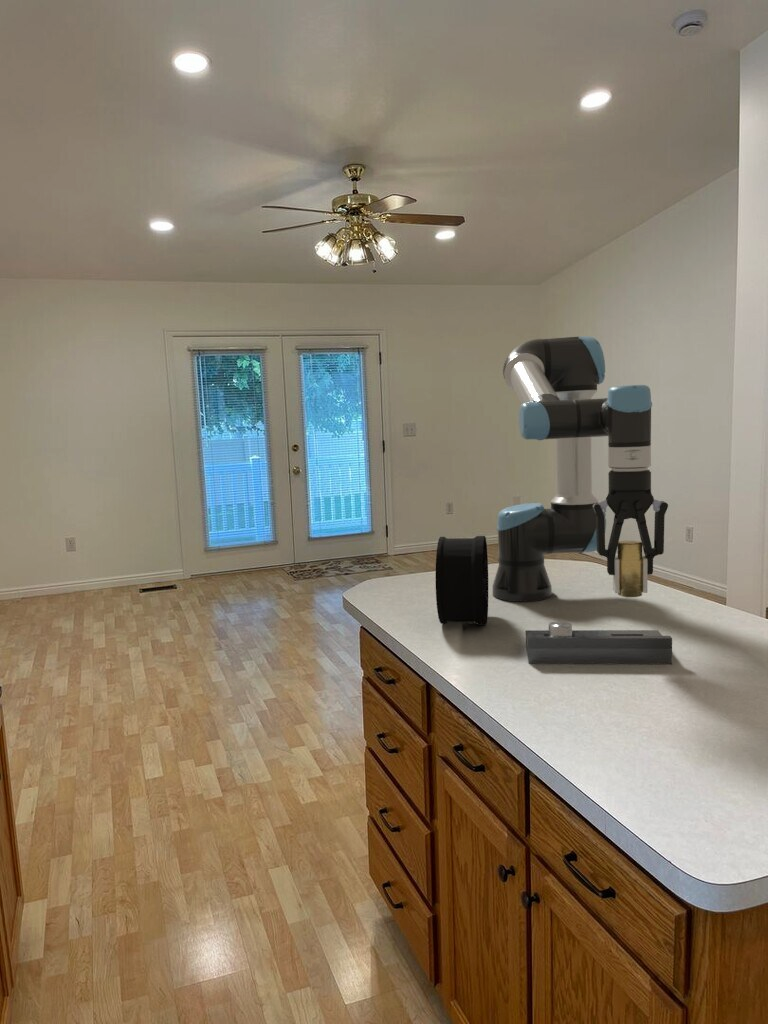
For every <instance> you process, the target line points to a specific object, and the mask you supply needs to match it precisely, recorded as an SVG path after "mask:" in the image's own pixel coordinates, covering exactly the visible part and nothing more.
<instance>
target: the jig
mask: <svg viewBox="0 0 768 1024" xmlns="http://www.w3.org/2000/svg"><path fill="white" fill-rule="evenodd" d="M524 634H525V649H526V655H527V662H528V664H529V665H530V664H533V665H534V664H535V665H537V664H539V665H540V664H541V665H543V664H546V665H547V664H548V665H550V664H552V665H559V664H561V665H568V664H569V665H673V637H672V636H671V635H662V633H661V632H660V630H658V629H657V630H656V629H653V630H652V629H644V630H643V629H642V630H640V629H639V630H638V629H629V630H628V629H625V630H624V629H622V630H621V629H620V630H619V629H615V630H614V629H613V630H611V629H610V630H609V629H607V630H605V629H604V630H603V629H601V630H597V629H596V630H595V629H594V630H593V629H590V630H589V629H587V630H583V629H581V630H580V629H579V630H577V629H576V630H575V629H574V630H573V629H572V636H549V629H547V630H545V629H544V630H541V629H540V630H536V629H534V630H533V629H532V630H530V629H529V630H525V631H524Z"/></svg>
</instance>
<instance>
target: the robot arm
mask: <svg viewBox="0 0 768 1024" xmlns="http://www.w3.org/2000/svg"><path fill="white" fill-rule="evenodd" d="M603 351H604V350H603V348H602V345H601V343H600V342H599V341H598V339H597V338H595V337H592V336H579V335H578V336H569V337H553V338H536V339H535V338H534V339H531V340H527V341H525V342H523V343H521V344H519V345H518V346H516V347H515V348H514V349H513V350H511V351H510V353H509V354H508V356H507V357H505V360H504V363H503V367H502V368H503V369H502V375H503V379H504V380H505V383H506V385H507V387H509V389H510V390H512V391H514V393H515V394H516V397H517V398H518V401H519V403H520V404H521V405H520V407H519V412H518V420H519V421H518V426H519V433H520V435H521V438H523V439H524V440H537V441H543V440H555V444H556V446H555V448H556V450H555V451H556V457H555V459H556V462H555V463H556V494H555V496H554V497H553V498H552V499H551V501H550V508H545V507H544V504H542V503H539V502H533V503H530V502H529V503H520V504H517V505H516V504H515V505H512V506H507V507H505V508H503V509H502V510H500V511H499V513H498V514H497V526H496V530H497V538H498V539H497V543H498V545H497V549H498V550H497V552H498V553H497V554H498V566H497V570H496V573H495V576H494V579H493V584H492V596H493V597H495V598H497V599H500V600H502V601H503V600H504V601H508V602H509V601H510V602H536V601H542V600H545V599H548V598H550V597H551V596H552V594H553V593H552V588H553V587H552V584H551V581H550V578H549V575H548V571H547V569H546V566H545V555H549V554H551V555H552V554H553V555H554V554H556V555H557V554H576V553H578V554H583V553H590V552H592V553H593V552H597V554H598V555H599V556H601V557H605V558H606V571H607V574H608V576H612V590H613V592H614V593H615V594H618V593H619V559H618V556H616V554H617V552H618V542H620V538H621V533H622V530H623V525H624V523H625V520H628V519H634V520H635V522H636V525H637V529H638V532H639V537H640V542H642V551H643V553H644V555H642V594H648V575H653V572H654V558H655V557H656V556H658V555H659V556H660V555H663V554H664V551H665V550H664V549H665V547H664V546H665V515H666V513H667V510H668V509H669V504H668V503H667V502H666V501H664V500H658V499H655V498H654V495H653V494H652V471H650V469H648V468H650V467H651V466H652V451H651V450H652V449H651V447H652V446H651V445H652V440H651V439H652V407H653V403H652V394H651V388H650V387H649V386H648V385H645V384H632V385H618V386H611V387H610V388H609V389H608V390H607V391H608V392H607V397H605V398H592V397H594V396H595V394H596V393H597V392H598V386H599V385H600V384H603V382H604V381H605V377H606V375H605V374H606V362H605V355H604V352H603ZM599 437H600V438H601V437H608V438H607V439H608V445H607V446H608V450H607V451H608V454H607V455H608V456H607V457H608V461H607V462H608V463H607V465H608V468H609V469H611V470H609V471H608V472H607V473H608V492H607V493H608V494H607V496H606V498H605V500H603V501H601V502H599V500H598V498H597V497H595V496H594V495H593V492H592V491H593V490H592V489H593V487H592V486H593V485H592V483H593V482H592V481H593V480H592V470H593V469H592V438H599ZM651 506H652V509H653V511H654V532H653V533H654V536H653V539H654V540H653V547H652V542H651V538H650V534H649V530H648V525H647V520H646V513H647V512H648V510H649V509H650V508H651ZM607 507H609V508H610V510H611V511H612V512H613V513H614V516H613V523H612V527H611V533H610V536H609V541H608V545H607V549H606V530H607V518H606V512H607Z"/></svg>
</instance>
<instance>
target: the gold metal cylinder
mask: <svg viewBox="0 0 768 1024" xmlns="http://www.w3.org/2000/svg"><path fill="white" fill-rule="evenodd" d="M642 556H643V546H642V542H641V541H639V540H638V541H637V540H619V542H618V546H617V557H618V559H619V593H617V595H618V596H620V597H625V598H638V597H642V596H643V592H642Z"/></svg>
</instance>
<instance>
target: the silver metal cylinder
mask: <svg viewBox="0 0 768 1024" xmlns="http://www.w3.org/2000/svg"><path fill="white" fill-rule="evenodd" d="M548 630H549V636H572V630H573V624H572V623H571V622H568V621H564V620H563V621H562V620H561V621H560V620H559V621H557V620H556V621H555V620H554V621H551V622H549V623H548Z"/></svg>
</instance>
